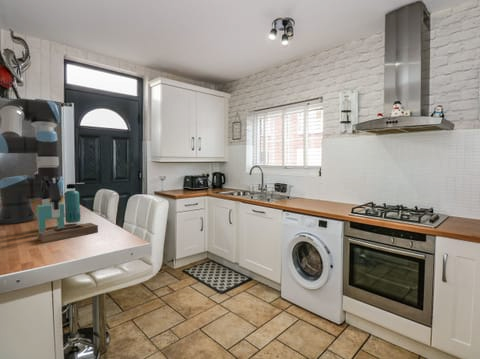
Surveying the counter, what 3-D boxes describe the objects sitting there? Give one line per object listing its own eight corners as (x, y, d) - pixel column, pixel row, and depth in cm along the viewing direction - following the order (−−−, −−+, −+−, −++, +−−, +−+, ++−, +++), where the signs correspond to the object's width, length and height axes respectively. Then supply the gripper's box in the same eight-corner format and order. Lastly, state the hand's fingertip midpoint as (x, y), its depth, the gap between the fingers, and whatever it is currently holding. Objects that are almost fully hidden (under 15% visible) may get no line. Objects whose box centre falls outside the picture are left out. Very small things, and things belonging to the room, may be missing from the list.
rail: (37, 238, 109) (37, 231, 109) (90, 229, 124) (90, 222, 124) (43, 242, 104) (43, 235, 103) (98, 232, 119) (97, 225, 119)
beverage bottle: (68, 226, 128) (66, 184, 127) (63, 224, 132) (61, 184, 131) (83, 224, 134) (81, 183, 132) (77, 222, 138) (75, 183, 136)
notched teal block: (38, 233, 117) (36, 206, 116) (63, 229, 124) (61, 203, 123) (40, 234, 115) (38, 206, 114) (65, 230, 122) (63, 204, 121)
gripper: (30, 166, 122) (33, 213, 124) (46, 167, 106) (49, 220, 108) (49, 166, 128) (52, 210, 129) (68, 166, 112) (70, 217, 113)
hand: (51, 215), depth 119 cm, fingers open, 13 cm apart
